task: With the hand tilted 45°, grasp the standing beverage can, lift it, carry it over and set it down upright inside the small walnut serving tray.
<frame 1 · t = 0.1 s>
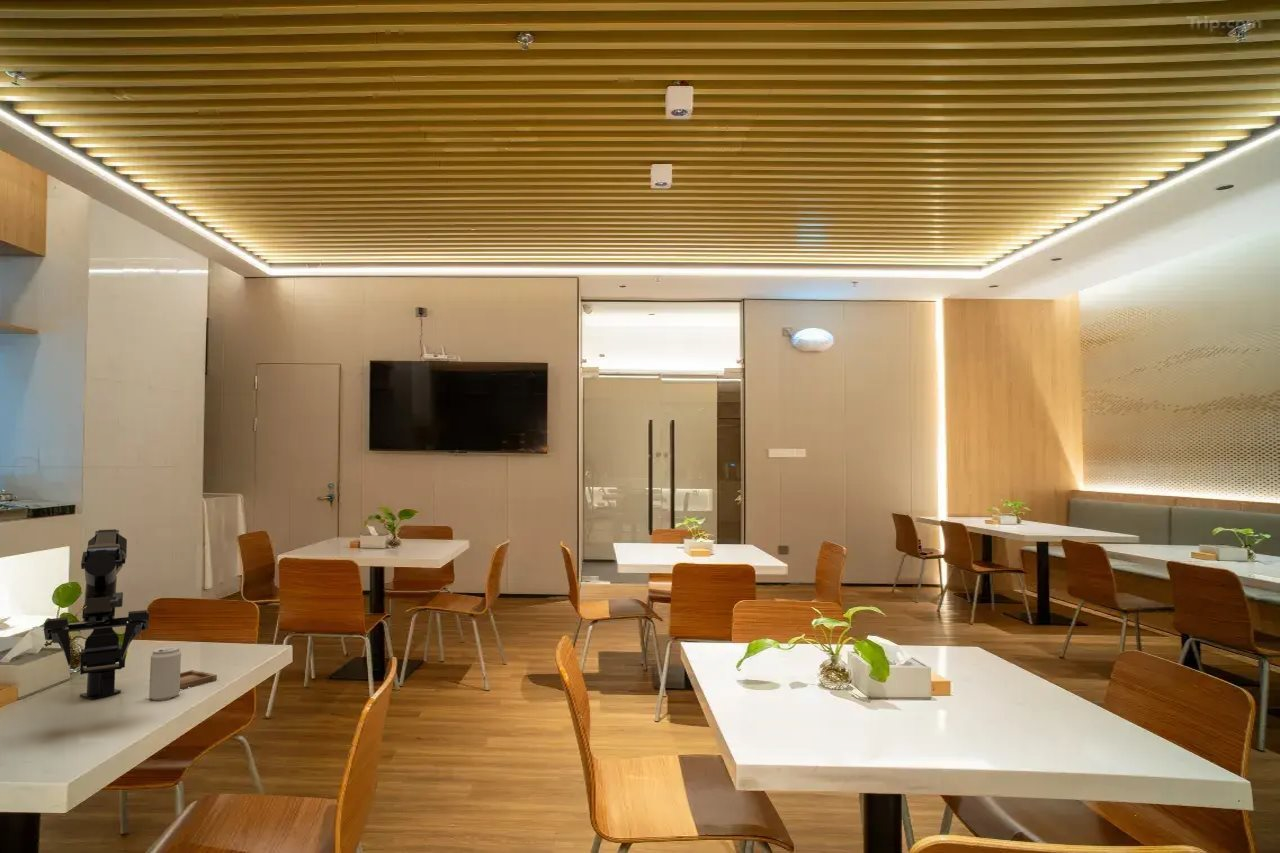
hand: (96, 661, 157), 15 cm above the table, tool tilted 35°, fingers open, 9 cm apart
tray: (183, 683, 192), on the table
beverage can: (164, 698, 180), on the table
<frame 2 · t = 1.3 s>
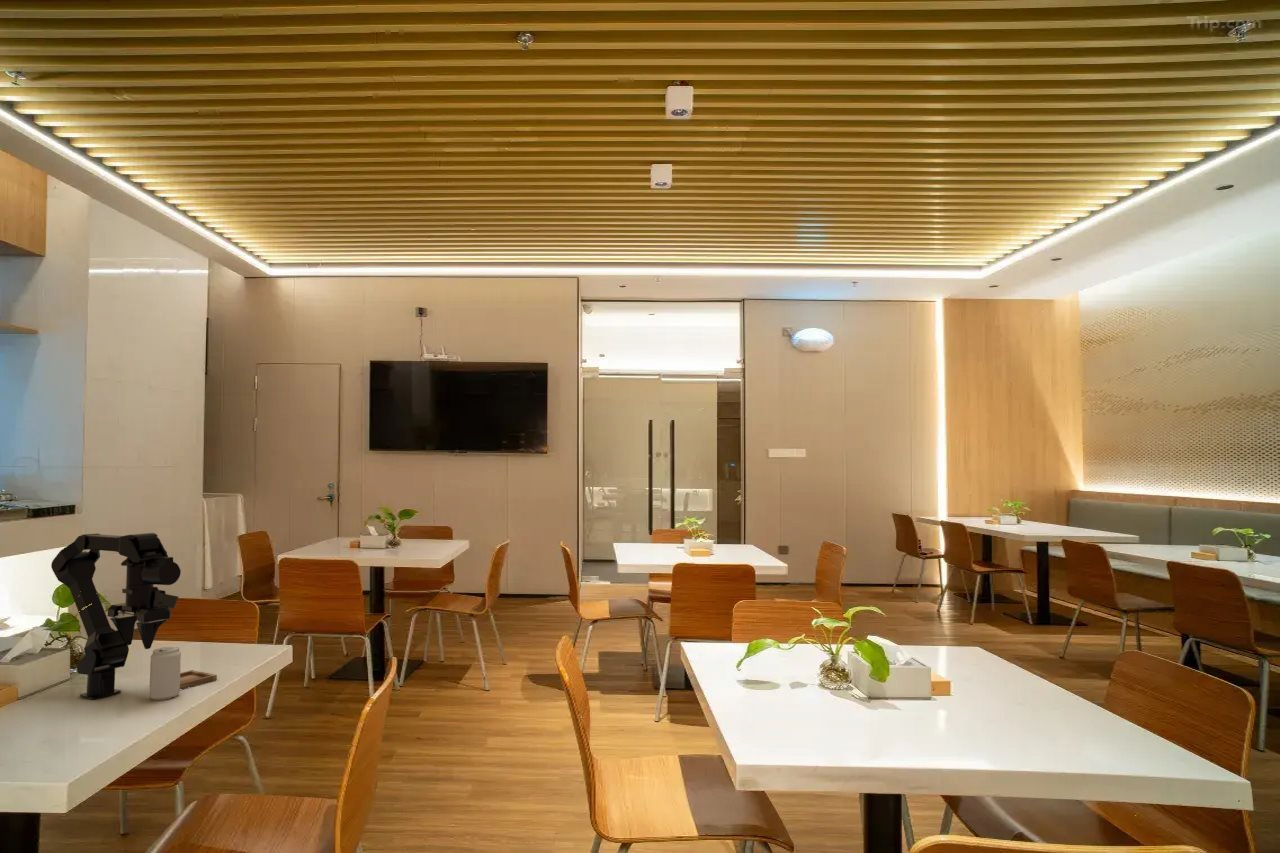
hand: (138, 646, 179), 13 cm above the table, tool pointing down, fingers open, 9 cm apart
nothing on the table moved.
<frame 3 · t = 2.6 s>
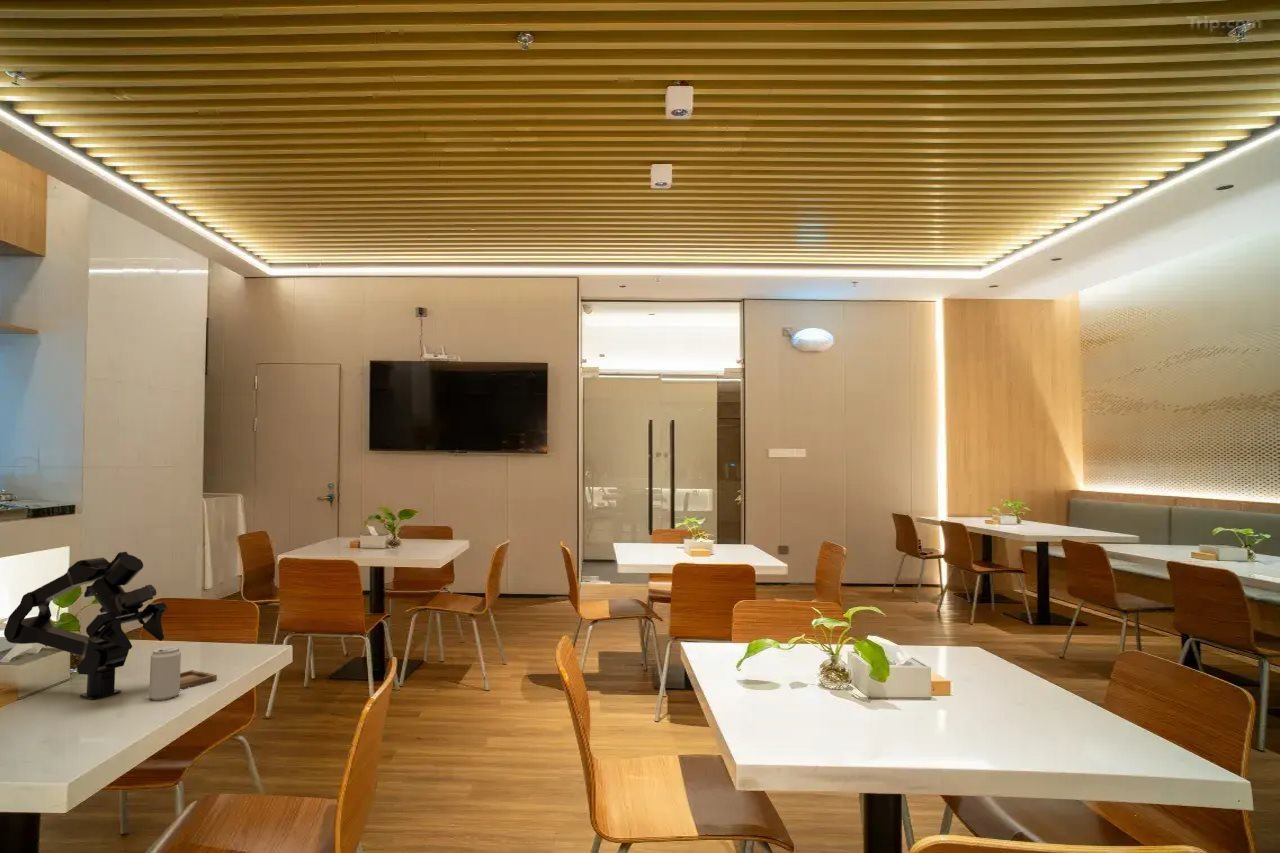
hand: (146, 643, 180), 13 cm above the table, tool tilted 45°, fingers open, 9 cm apart
nothing on the table moved.
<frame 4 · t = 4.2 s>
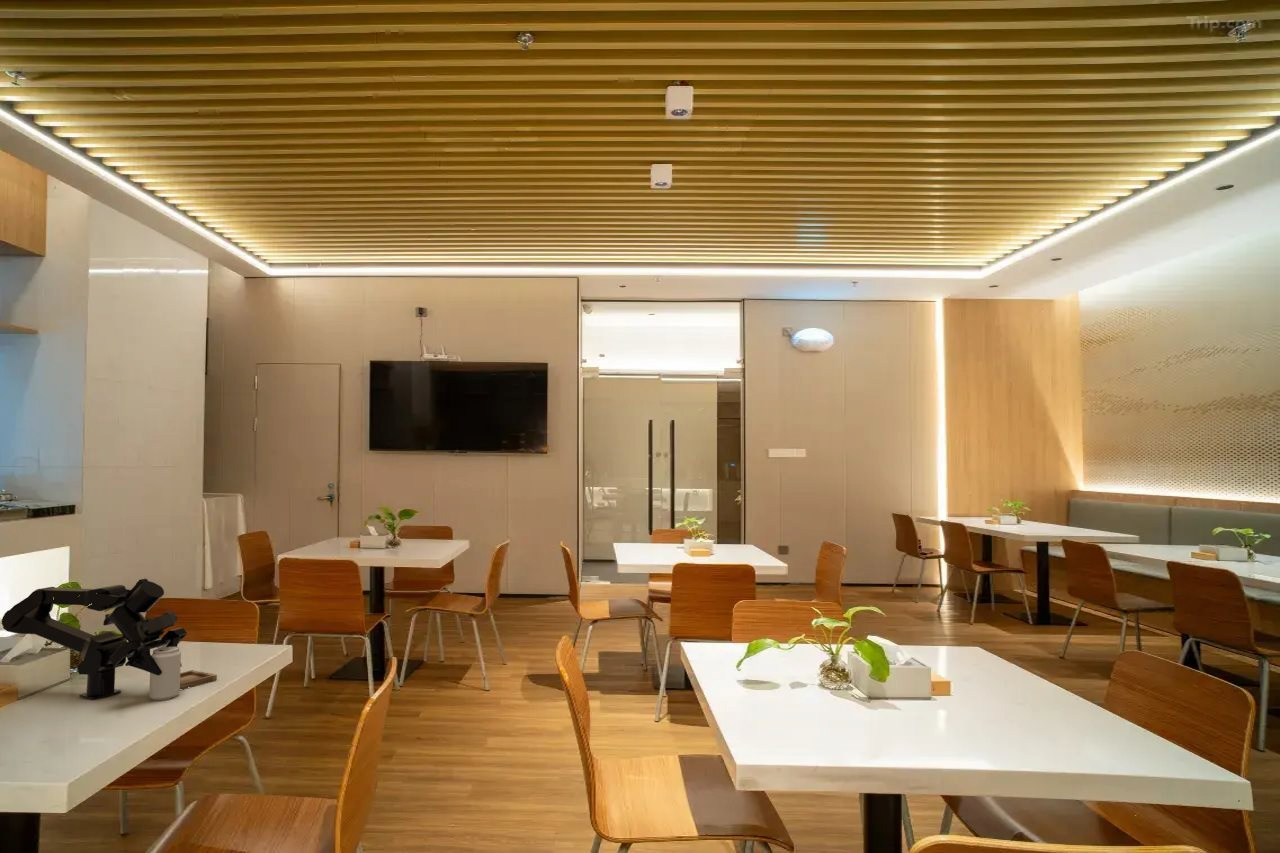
hand: (170, 670, 180), 7 cm above the table, tool tilted 45°, fingers closed on beverage can, 6 cm apart
beverage can: (164, 698, 180), on the table, touching gripper
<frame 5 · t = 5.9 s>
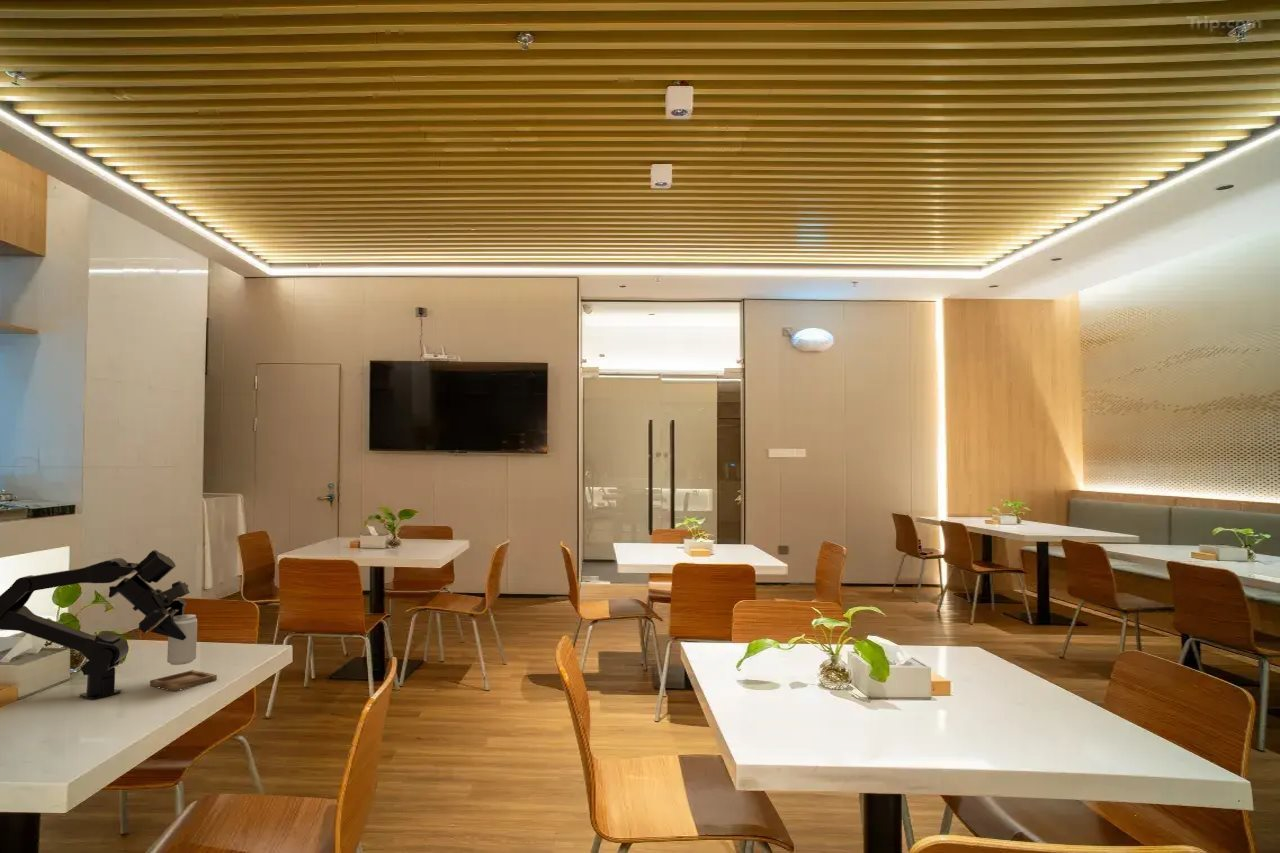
hand: (188, 636, 189), 13 cm above the table, tool tilted 45°, fingers closed on beverage can, 6 cm apart
beverage can: (181, 663, 188), point 6 cm above the table, touching gripper
when the fingers open (8 cm above the table, at t = 7.6 s): beverage can stays where it is, resting on tray.
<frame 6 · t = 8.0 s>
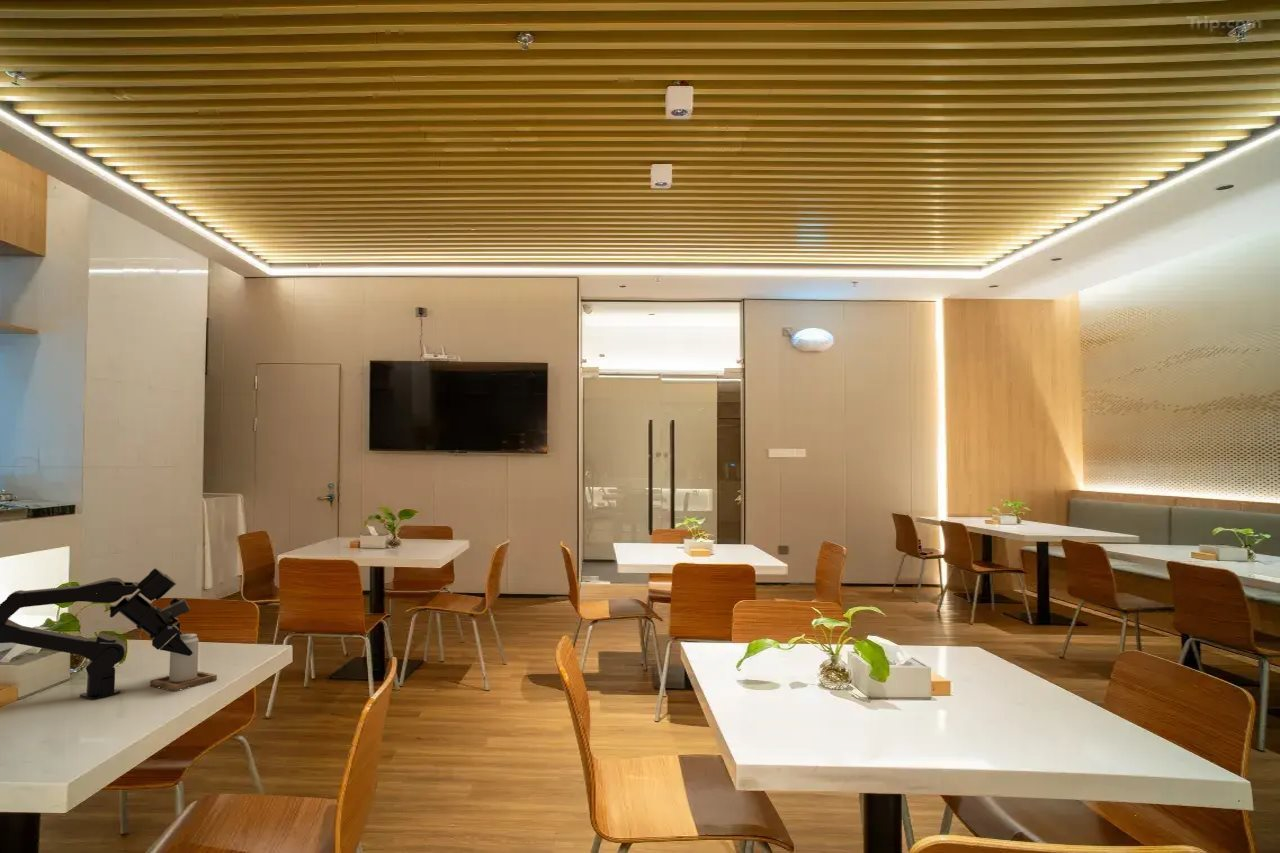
hand: (191, 650, 193), 8 cm above the table, tool tilted 45°, fingers open, 9 cm apart
beverage can: (183, 681, 192), resting on tray
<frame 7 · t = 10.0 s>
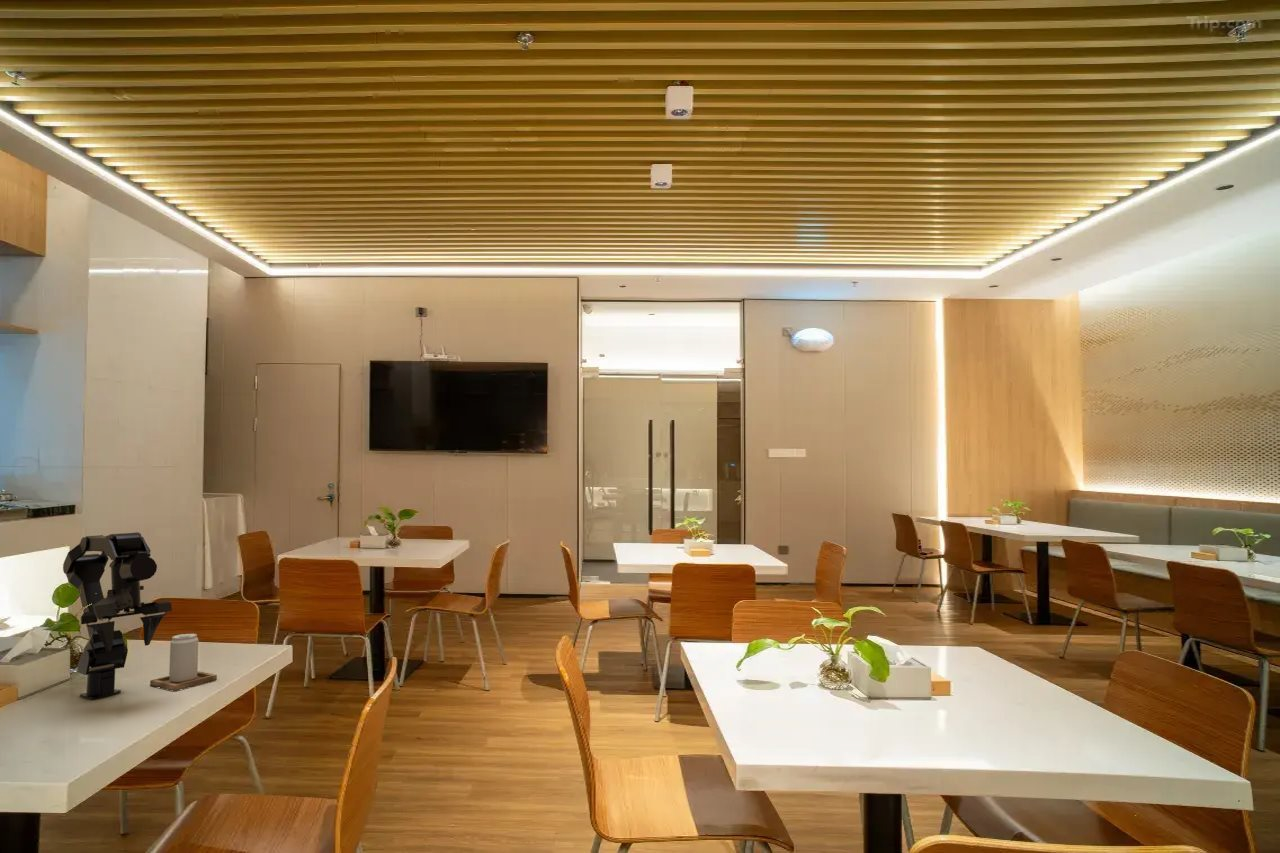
hand: (128, 648, 175), 14 cm above the table, tool pointing down, fingers open, 9 cm apart
nothing on the table moved.
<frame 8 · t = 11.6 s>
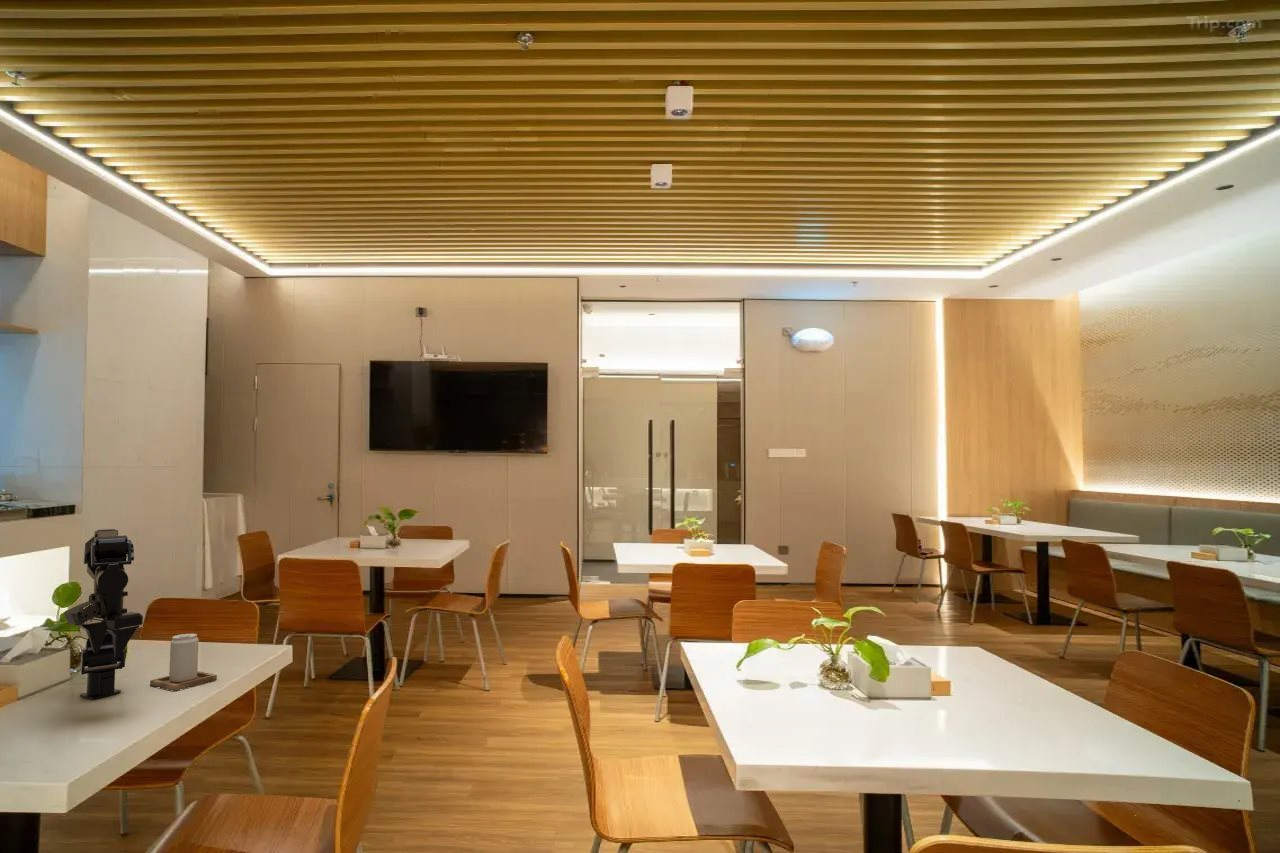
hand: (106, 654, 171), 13 cm above the table, tool pointing down, fingers open, 9 cm apart
nothing on the table moved.
at the end: beverage can inside the target area on the tray (0.2 cm from its centre), point 0.4 cm above the tray's base; beverage can tilted 0°; the gripper is holding nothing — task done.
